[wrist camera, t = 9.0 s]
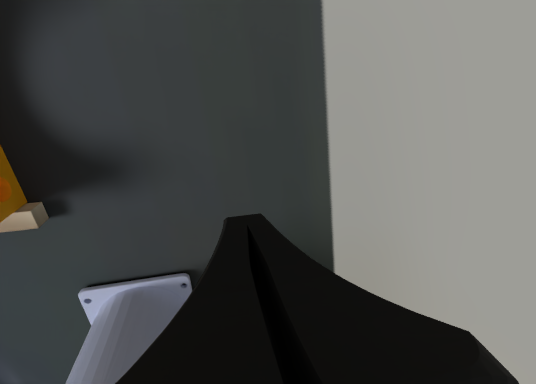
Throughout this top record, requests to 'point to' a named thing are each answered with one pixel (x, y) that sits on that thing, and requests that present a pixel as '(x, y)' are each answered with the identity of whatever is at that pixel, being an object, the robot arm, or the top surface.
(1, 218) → the pipe clamp
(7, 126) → the top surface
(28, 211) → the rail channel
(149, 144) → the top surface
